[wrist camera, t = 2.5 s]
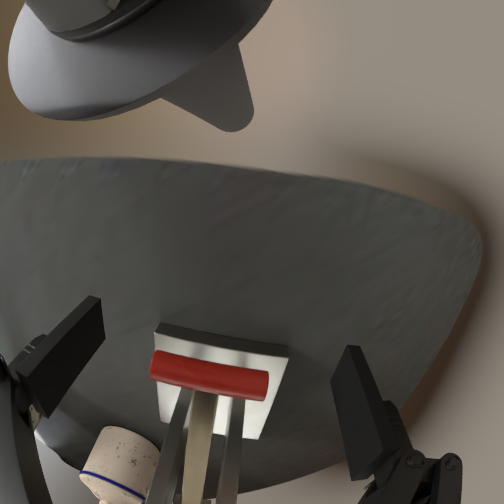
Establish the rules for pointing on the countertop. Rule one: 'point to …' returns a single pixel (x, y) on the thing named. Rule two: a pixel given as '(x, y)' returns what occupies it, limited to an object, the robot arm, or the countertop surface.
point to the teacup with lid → (120, 466)
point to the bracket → (228, 409)
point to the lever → (204, 407)
